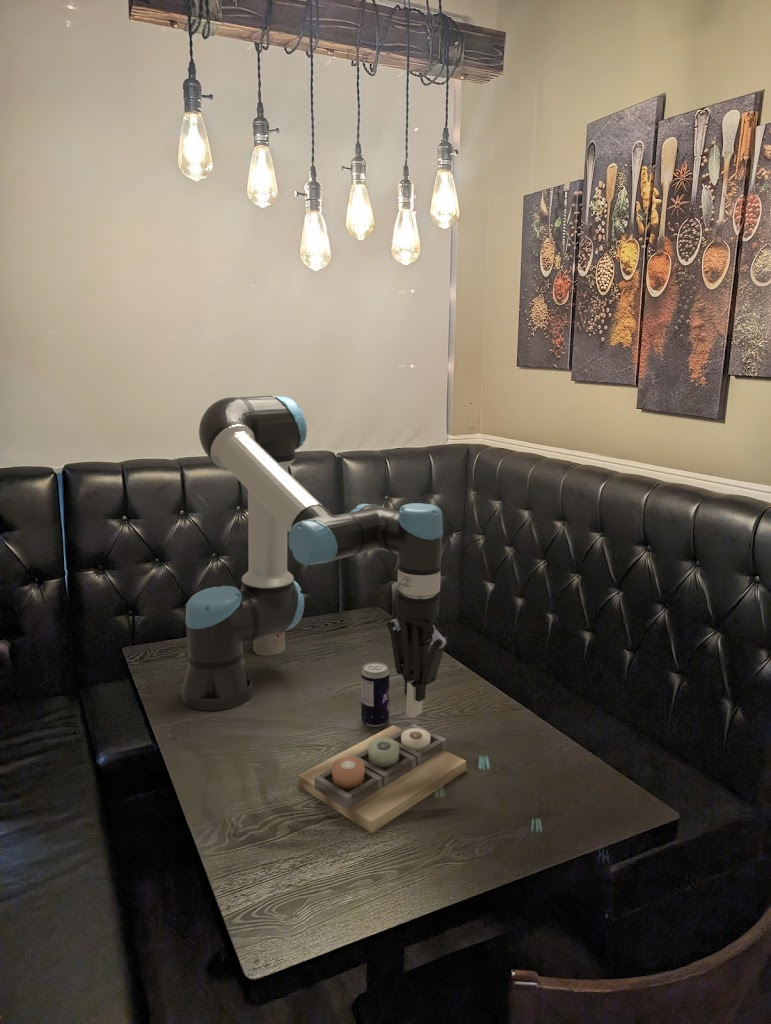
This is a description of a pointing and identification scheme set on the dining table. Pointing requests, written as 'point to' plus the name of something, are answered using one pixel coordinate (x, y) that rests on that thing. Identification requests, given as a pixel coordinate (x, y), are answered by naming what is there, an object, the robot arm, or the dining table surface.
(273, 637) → the thermos bottle
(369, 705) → the beverage can
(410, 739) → the cream button
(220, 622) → the robot arm
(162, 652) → the dining table surface
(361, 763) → the terracotta button
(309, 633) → the dining table surface
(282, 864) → the dining table surface
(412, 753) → the panel
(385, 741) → the sage button
